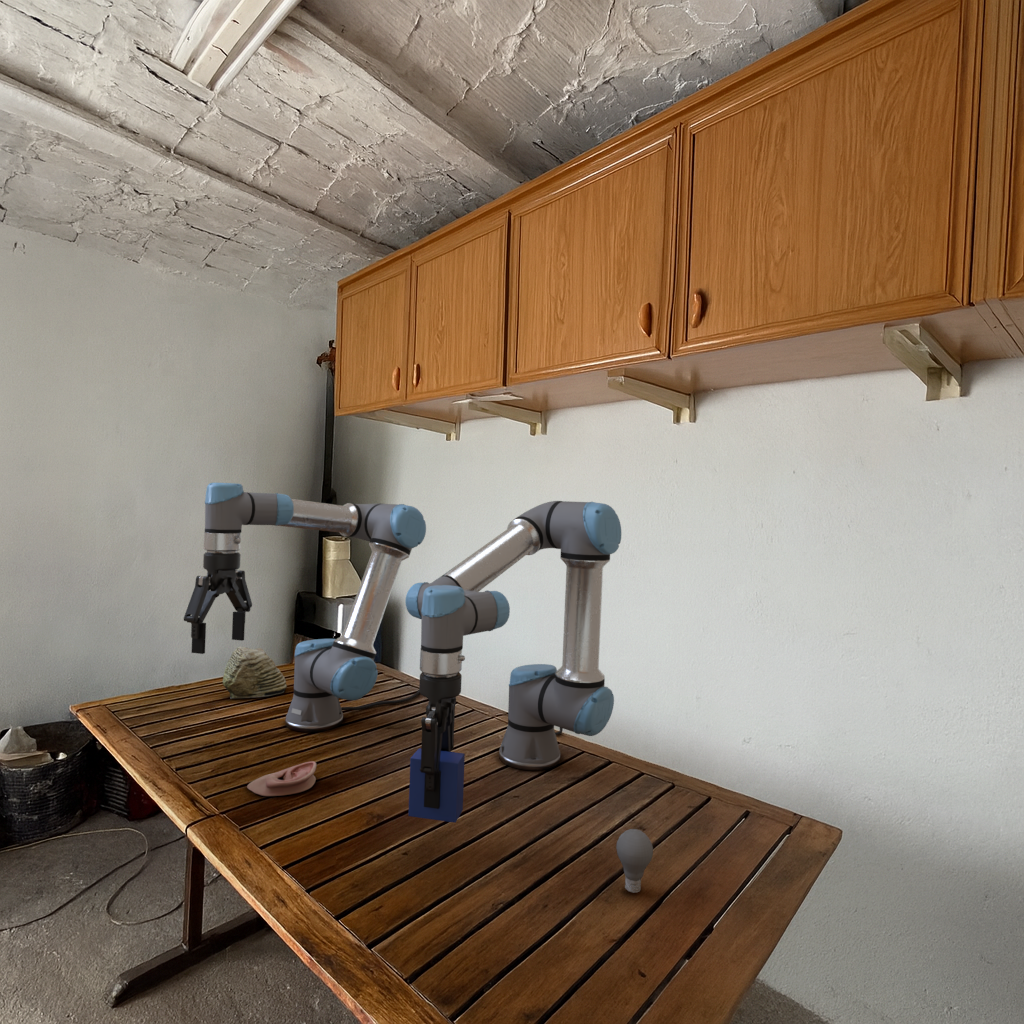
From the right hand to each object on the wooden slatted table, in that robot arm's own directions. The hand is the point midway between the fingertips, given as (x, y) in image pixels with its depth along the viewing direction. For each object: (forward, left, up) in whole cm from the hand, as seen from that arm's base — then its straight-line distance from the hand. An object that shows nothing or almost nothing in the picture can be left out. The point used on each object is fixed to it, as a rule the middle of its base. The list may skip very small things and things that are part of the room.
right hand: (436, 799), depth 115 cm
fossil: (-21, -104, -10) cm, 107 cm away
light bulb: (-15, +32, -10) cm, 37 cm away
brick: (0, 0, -3) cm, 3 cm away
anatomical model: (+5, -42, -10) cm, 44 cm away
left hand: (+13, -58, +19) cm, 63 cm away
